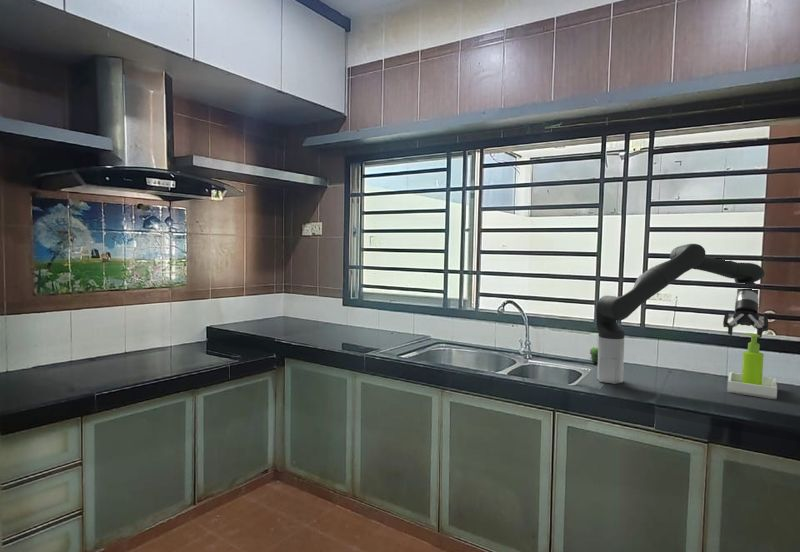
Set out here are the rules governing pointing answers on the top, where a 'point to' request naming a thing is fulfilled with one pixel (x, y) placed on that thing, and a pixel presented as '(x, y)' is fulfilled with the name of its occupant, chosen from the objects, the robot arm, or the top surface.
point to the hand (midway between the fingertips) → (744, 336)
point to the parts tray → (752, 386)
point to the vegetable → (594, 354)
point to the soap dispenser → (752, 362)
